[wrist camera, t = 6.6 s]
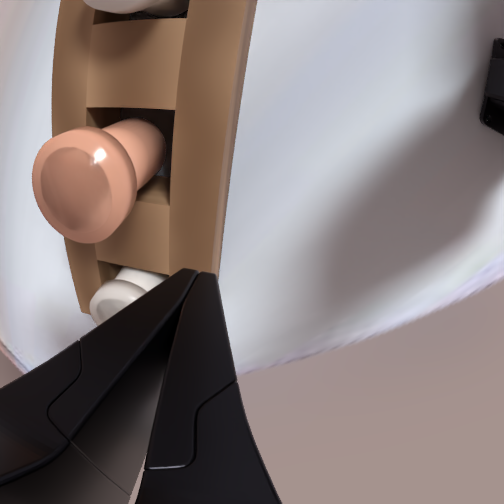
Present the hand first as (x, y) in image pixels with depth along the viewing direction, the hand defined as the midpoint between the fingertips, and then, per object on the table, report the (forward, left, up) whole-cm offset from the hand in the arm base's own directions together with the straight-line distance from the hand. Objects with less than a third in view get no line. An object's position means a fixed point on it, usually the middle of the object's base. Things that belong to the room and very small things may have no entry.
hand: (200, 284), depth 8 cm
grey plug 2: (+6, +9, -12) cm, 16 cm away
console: (+6, 0, -12) cm, 14 cm away
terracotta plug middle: (+6, 0, -9) cm, 11 cm away
